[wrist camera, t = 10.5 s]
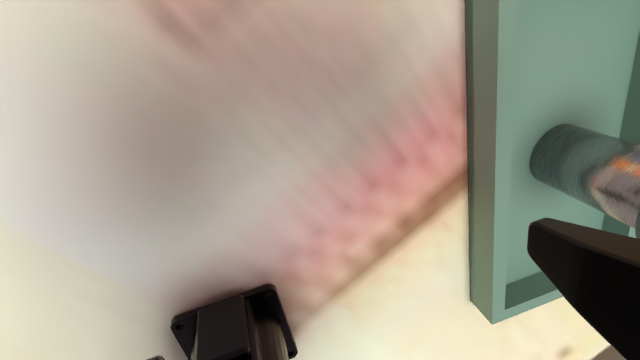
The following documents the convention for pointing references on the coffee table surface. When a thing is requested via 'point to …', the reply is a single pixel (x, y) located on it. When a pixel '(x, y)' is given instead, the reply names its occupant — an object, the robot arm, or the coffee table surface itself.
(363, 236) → the coffee table surface
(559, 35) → the tray
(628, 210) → the grey flanged cylinder
